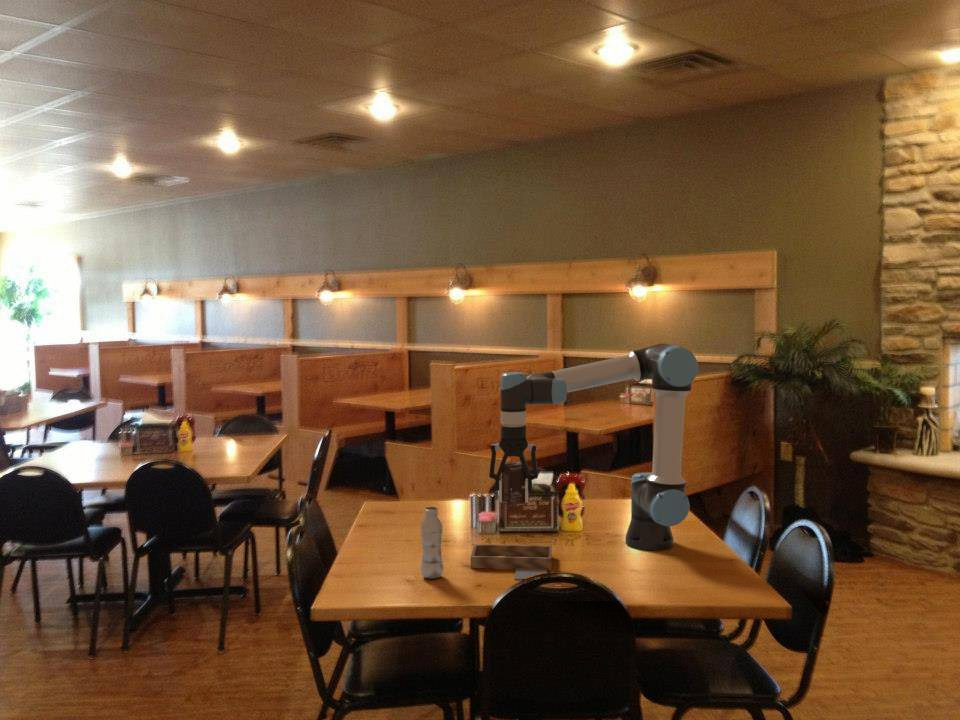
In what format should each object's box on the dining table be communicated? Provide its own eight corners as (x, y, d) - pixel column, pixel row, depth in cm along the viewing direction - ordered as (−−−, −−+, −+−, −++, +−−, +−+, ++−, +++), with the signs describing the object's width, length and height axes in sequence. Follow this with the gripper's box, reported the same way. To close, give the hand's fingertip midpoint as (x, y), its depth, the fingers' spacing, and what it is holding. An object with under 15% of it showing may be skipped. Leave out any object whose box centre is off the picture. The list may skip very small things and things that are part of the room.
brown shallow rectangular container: (551, 556, 266) (551, 545, 265) (551, 570, 253) (551, 558, 253) (474, 555, 268) (474, 544, 267) (470, 568, 255) (470, 556, 255)
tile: (546, 570, 253) (546, 568, 253) (546, 580, 244) (546, 579, 244) (515, 569, 254) (515, 568, 254) (514, 579, 245) (514, 578, 245)
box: (510, 506, 254) (509, 466, 253) (501, 503, 258) (500, 463, 257) (527, 503, 258) (526, 463, 257) (518, 500, 261) (517, 461, 260)
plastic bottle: (423, 582, 243) (422, 512, 242) (418, 574, 250) (417, 506, 248) (446, 580, 245) (445, 510, 244) (440, 572, 252) (439, 504, 250)
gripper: (547, 423, 259) (547, 499, 260) (481, 422, 261) (481, 497, 262) (546, 427, 251) (547, 505, 253) (478, 426, 253) (479, 504, 255)
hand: (513, 501), depth 258 cm, fingers closed on box, 7 cm apart
